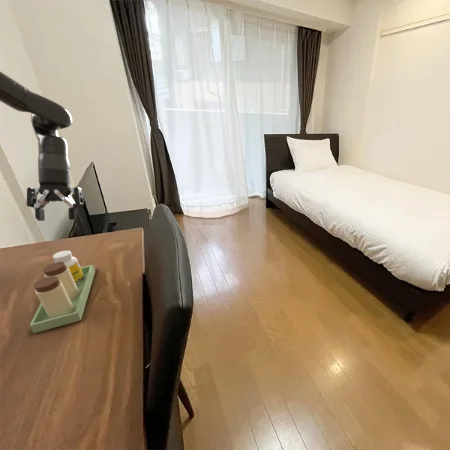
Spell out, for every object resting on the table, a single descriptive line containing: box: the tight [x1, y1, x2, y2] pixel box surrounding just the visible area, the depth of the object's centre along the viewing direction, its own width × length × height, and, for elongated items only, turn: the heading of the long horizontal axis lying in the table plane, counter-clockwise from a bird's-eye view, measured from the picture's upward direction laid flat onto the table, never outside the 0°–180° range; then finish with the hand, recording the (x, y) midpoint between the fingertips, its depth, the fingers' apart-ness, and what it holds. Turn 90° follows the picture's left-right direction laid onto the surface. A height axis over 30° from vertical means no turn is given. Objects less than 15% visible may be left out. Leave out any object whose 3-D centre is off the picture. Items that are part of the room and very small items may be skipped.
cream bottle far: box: [33, 276, 74, 319], centre depth 67 cm, size 5×5×10 cm
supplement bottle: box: [52, 250, 84, 285], centre depth 79 cm, size 5×5×10 cm
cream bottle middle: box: [42, 262, 80, 300], centre depth 73 cm, size 5×5×10 cm
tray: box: [29, 264, 96, 334], centre depth 75 cm, size 23×9×2 cm, turn 27°
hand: (56, 220), depth 87 cm, fingers open, 8 cm apart
